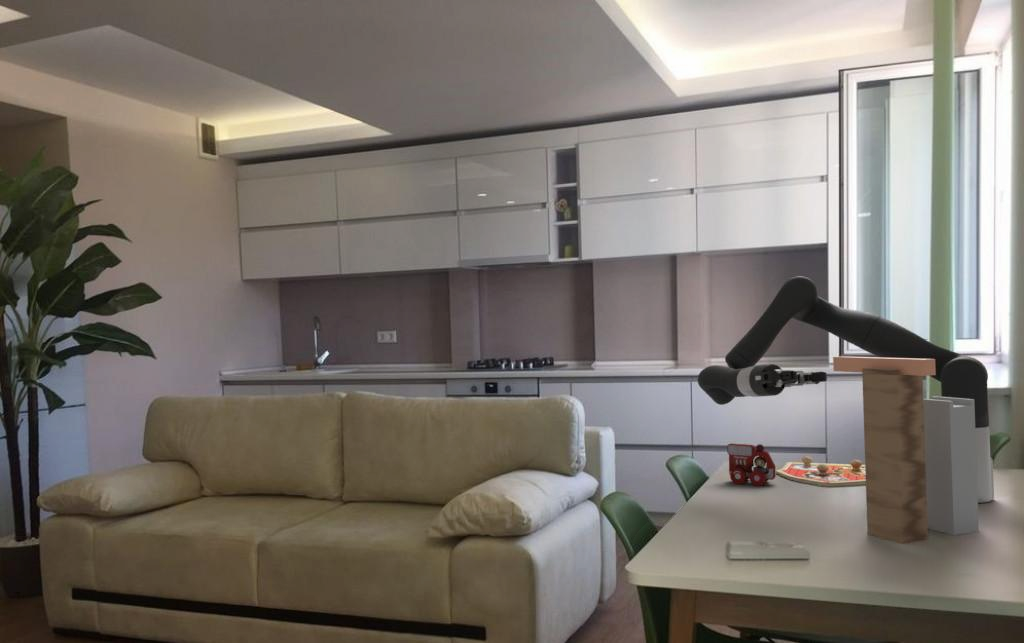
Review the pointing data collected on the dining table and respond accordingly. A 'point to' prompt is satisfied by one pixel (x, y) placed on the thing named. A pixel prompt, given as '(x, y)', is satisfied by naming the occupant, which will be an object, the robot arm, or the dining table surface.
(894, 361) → the stick
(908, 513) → the tower
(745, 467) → the toy fire truck
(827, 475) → the knob puzzle
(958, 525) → the cradle
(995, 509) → the dining table surface
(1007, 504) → the dining table surface
